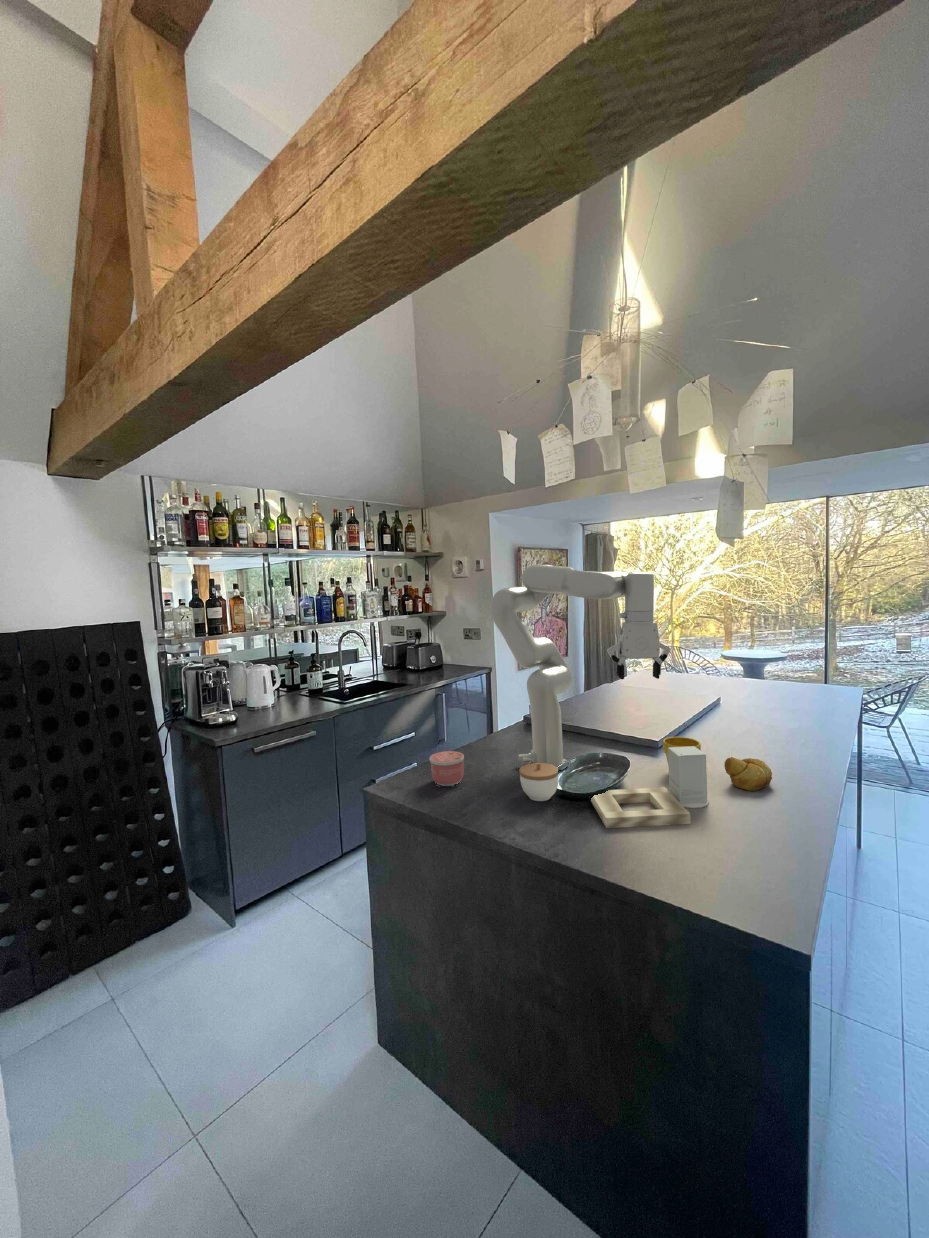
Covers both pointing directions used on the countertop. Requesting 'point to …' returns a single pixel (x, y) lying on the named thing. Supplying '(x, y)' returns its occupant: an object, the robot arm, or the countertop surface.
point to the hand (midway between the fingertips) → (638, 678)
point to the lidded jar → (539, 780)
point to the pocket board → (659, 797)
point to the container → (447, 767)
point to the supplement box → (687, 774)
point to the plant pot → (679, 743)
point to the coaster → (695, 804)
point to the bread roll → (748, 773)
